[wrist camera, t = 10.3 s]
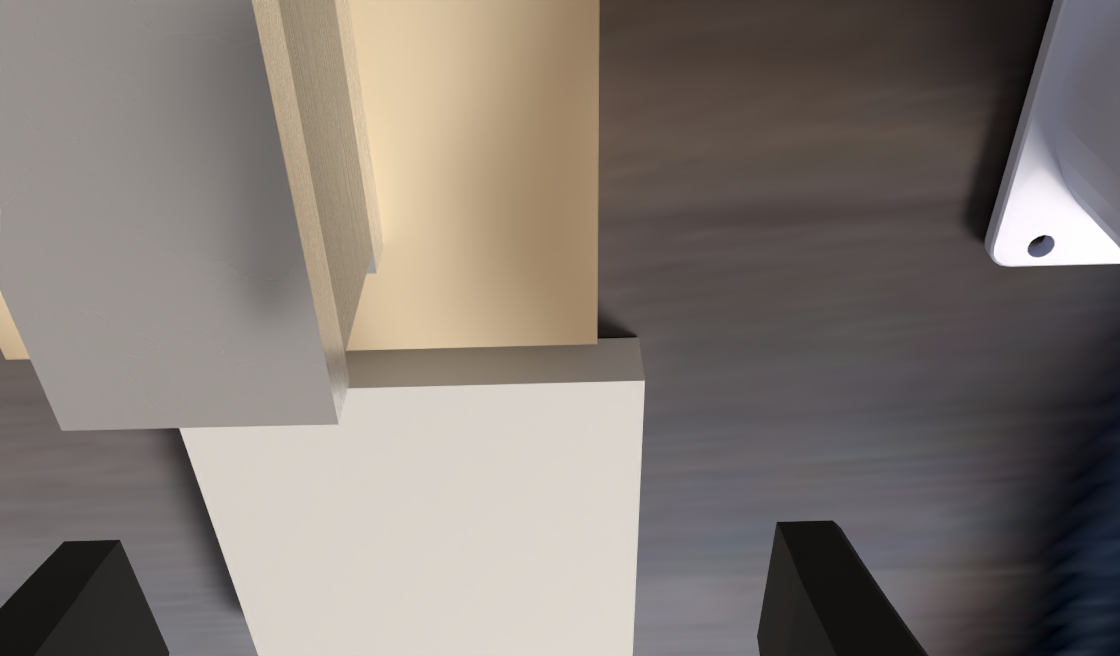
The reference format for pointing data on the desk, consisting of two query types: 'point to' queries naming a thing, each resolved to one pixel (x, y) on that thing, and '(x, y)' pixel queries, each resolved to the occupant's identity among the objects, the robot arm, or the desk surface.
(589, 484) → the stand
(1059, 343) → the desk surface
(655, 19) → the desk surface
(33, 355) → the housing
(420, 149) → the stand
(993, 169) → the desk surface
